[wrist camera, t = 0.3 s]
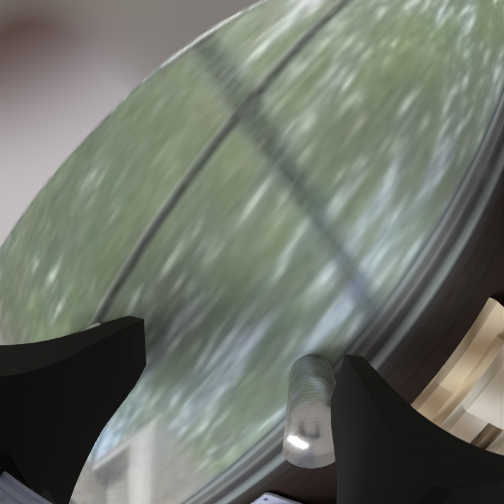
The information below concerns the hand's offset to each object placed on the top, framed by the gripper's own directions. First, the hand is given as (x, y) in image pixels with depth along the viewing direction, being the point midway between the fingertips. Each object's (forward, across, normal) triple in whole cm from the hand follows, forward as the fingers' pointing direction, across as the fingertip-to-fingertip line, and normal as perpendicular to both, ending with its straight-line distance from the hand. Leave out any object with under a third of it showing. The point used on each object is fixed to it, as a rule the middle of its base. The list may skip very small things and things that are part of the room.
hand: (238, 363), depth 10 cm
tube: (+10, -4, +7) cm, 13 cm away
